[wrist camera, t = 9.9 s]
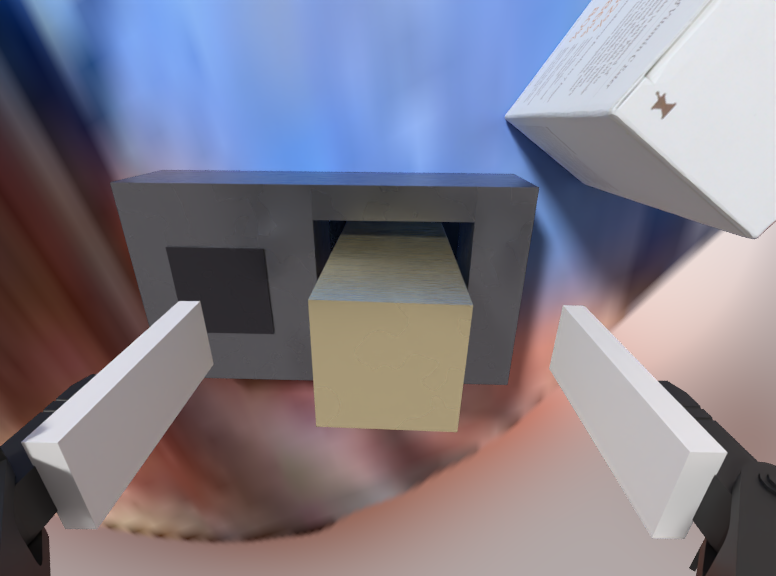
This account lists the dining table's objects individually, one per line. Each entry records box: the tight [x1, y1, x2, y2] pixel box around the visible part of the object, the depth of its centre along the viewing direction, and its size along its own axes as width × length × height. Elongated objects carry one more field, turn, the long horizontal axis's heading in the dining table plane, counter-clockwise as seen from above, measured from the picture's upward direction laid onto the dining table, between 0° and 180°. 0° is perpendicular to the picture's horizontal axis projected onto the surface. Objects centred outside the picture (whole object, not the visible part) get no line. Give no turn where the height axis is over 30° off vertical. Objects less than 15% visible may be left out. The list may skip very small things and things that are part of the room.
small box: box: [505, 0, 776, 239], centre depth 13 cm, size 8×6×10 cm
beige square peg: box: [308, 221, 473, 432], centre depth 17 cm, size 5×5×10 cm
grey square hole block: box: [110, 170, 539, 385], centre depth 20 cm, size 18×10×4 cm, turn 90°
